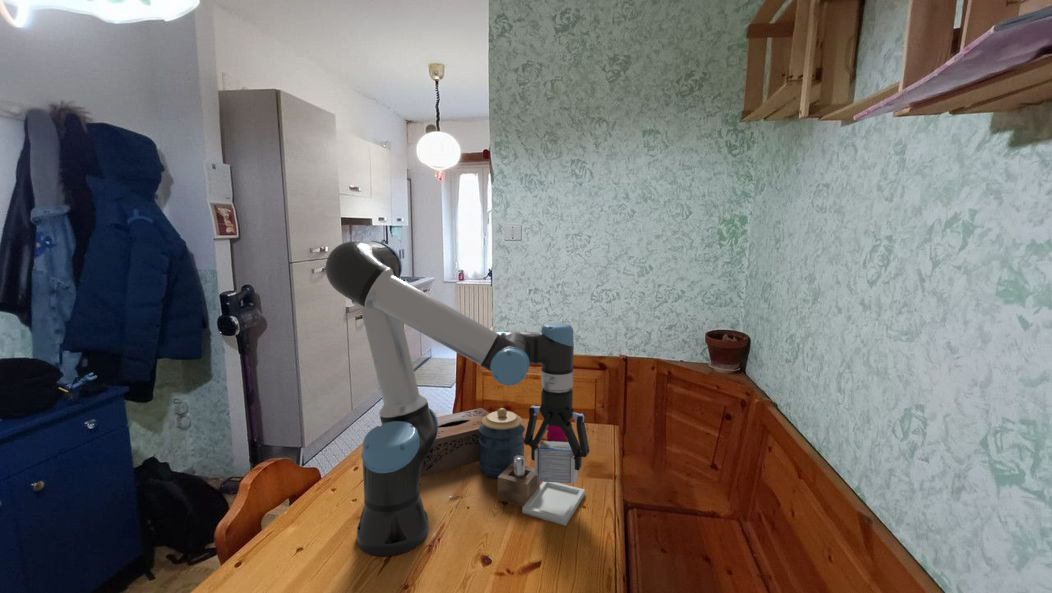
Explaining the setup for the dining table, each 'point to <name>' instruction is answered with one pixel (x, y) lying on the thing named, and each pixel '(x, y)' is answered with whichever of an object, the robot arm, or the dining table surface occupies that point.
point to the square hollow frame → (517, 485)
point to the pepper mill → (555, 434)
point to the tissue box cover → (455, 441)
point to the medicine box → (555, 462)
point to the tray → (554, 502)
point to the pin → (519, 467)
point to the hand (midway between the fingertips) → (555, 476)
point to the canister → (500, 441)
